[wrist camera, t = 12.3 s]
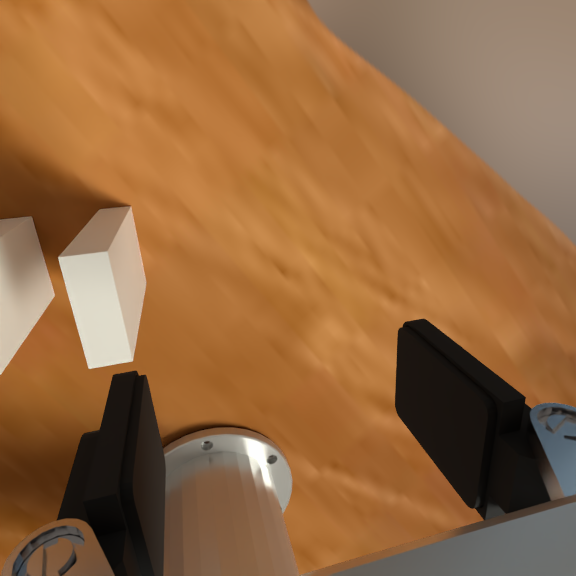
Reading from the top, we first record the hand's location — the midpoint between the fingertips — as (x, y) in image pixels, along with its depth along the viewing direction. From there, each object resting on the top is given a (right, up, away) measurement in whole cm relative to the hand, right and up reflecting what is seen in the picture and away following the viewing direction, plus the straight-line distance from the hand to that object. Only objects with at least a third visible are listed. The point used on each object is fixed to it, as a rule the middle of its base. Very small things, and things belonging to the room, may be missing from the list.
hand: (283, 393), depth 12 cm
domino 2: (-10, +5, +15) cm, 19 cm away
